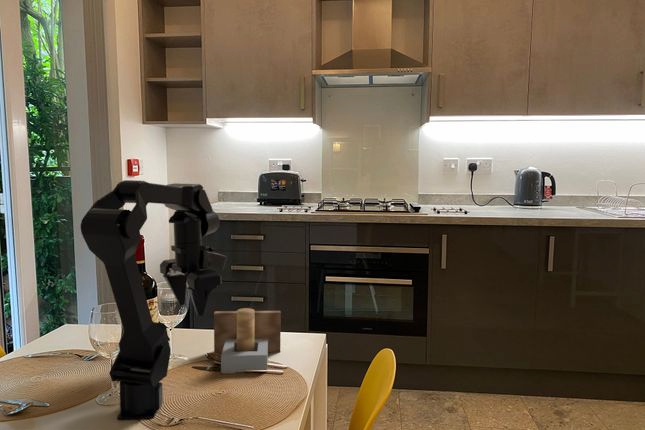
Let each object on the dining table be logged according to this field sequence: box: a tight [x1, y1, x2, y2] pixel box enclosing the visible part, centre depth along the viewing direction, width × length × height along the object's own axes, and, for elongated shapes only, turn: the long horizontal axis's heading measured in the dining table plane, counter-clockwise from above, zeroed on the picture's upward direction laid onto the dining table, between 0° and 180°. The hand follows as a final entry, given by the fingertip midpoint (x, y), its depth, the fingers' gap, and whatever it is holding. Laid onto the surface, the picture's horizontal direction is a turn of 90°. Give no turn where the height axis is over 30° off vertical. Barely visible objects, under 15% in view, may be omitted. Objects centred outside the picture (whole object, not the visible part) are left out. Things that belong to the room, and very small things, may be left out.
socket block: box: [220, 338, 269, 374], centre depth 107 cm, size 10×10×4 cm
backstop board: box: [213, 310, 282, 354], centre depth 114 cm, size 16×2×10 cm, turn 95°
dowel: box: [236, 307, 256, 352], centre depth 107 cm, size 4×4×12 cm
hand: (190, 310), depth 103 cm, fingers open, 9 cm apart
